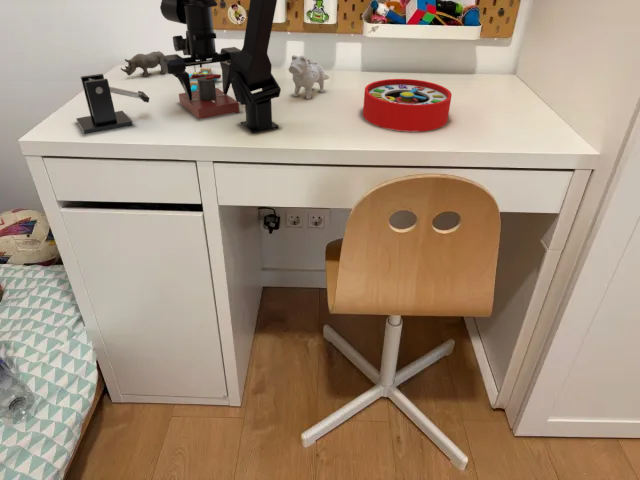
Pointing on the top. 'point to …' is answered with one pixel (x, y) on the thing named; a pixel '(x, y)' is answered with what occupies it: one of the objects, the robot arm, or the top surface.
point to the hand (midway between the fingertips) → (208, 97)
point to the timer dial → (206, 88)
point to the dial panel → (209, 104)
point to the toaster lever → (128, 93)
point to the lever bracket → (100, 107)
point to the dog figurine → (306, 74)
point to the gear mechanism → (202, 73)
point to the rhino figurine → (143, 63)
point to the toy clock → (406, 105)
